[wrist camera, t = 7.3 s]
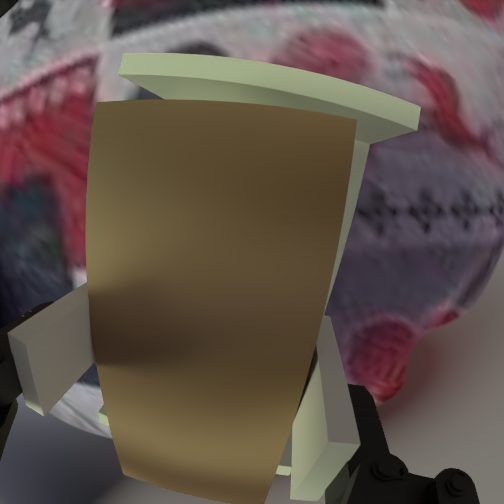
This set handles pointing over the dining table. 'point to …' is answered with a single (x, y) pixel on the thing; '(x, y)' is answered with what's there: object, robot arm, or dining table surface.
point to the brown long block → (210, 281)
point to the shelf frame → (284, 95)
